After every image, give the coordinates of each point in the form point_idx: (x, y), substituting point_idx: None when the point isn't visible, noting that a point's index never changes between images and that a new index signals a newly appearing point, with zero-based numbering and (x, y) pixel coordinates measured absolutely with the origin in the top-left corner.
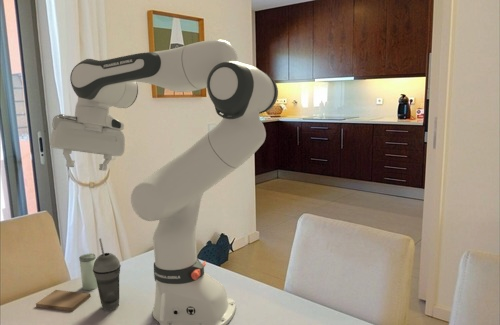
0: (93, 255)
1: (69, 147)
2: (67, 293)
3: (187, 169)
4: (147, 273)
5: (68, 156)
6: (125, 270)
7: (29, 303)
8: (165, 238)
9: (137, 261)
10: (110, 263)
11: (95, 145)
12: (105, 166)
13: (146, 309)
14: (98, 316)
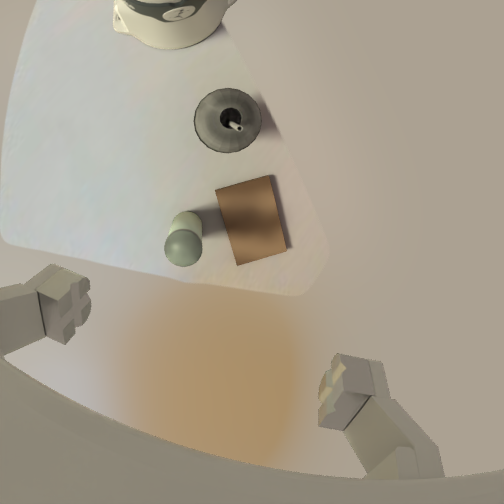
0: (171, 240)
1: (458, 483)
2: (236, 232)
3: None
4: (87, 169)
5: (411, 422)
6: (102, 223)
7: (282, 269)
8: None
9: (63, 235)
10: (239, 92)
11: (45, 487)
12: (47, 278)
13: (199, 57)
14: None
